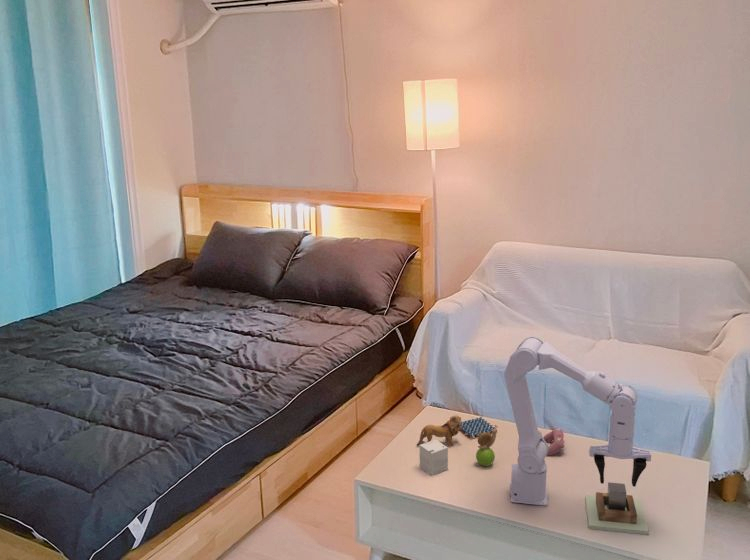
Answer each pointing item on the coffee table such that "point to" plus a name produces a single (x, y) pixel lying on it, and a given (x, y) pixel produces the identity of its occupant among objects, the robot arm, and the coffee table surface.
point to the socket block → (615, 515)
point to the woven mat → (475, 428)
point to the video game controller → (555, 441)
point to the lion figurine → (442, 430)
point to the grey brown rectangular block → (616, 496)
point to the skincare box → (433, 457)
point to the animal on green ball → (486, 448)
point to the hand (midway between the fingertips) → (617, 482)
